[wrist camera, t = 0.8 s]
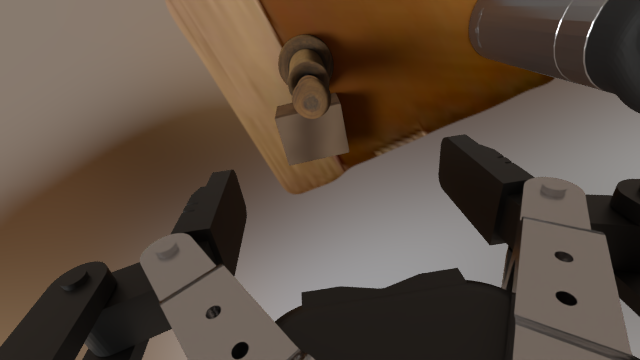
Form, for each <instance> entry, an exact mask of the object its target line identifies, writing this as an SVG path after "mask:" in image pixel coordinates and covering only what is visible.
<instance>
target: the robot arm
mask: <svg viewBox="0 0 640 360" xmlns="http://www.w3.org/2000/svg"><path fill="white" fill-rule="evenodd" d="M469 37H470V41H471V44H472V46H473V47H474V49H475V51H476V52H477V53H479V54H480V55H481V56H483V57H485V58H488V59H491V60H495V61H498V62H502V63H505V64H508V65H512V66H516V67H519V68H523V69H526V70H530V71H533V72H537V73H541V74H544V75H548V76H551V77H555V78H559V79H563V80H566V81H569V82H573V83H576V84H581V85H585V86H588V87H592V88H595V89H599V90H602V91H606V92H610V93H613V94H616V95H617V96H618V97H619V98H620V100H621V101H622V102H623V103H624V104H625V105H627V106H628V107H630V108H631V109H633V110H634V111H636V112H638V113H640V0H478V1H477V3H476V5H475V7H474V9H473V12H472V15H471V18H470V24H469ZM439 182H440V185H441V187H442V189H443V190H444V192H445V193H446V194H447V195H448V196H449V197H450V199H451V200H452V201H453V202H454V203H455V204H456V206H457V207H458V208H459V209H460V210H461V212H462V213H463V214H464V215H465V216H466V217H467V219H468V220H469V221H470V222H471V223H472V225H473V226H474V227H475V228H476V229H477V230H478V232H479V233H480V234H481V235H482V236H483V238H484V239H485V240H486V241H487V242H488V243H489V245H496V244H502V243H507V244H508V250H507V253H506V259H505V267H504V273H503V280H502V287H501V288H500V287H497V286H494V285H491V284H487V283H482V282H477V281H470V280H465V279H464V277H463V275H462V274H461V272H460V271H459V269H458V268H454V269H448V270H441V271H436V272H429V273H422V274H418V275H416V276H413V277H411V278H408V279H406V280H403V281H401V282H399V283H396V284H394V285H391V286H389V287H386V288H382V289H374V288H357V287H334V288H328V289H321V290H315V291H309V292H302V306H299V307H297V308H295V309H293V310H291V311H289V312H287V313H286V314H284V315H283V316H281V317H280V318H279V319H277V321H275V322H274V321H273V320H272V319H271V317H270V316H269V315H268V314H267V313H266V312H265V311H264V310H263V309H262V307H261V306H260V305H259V304H258V303H257V302H256V301H255V300H254V299H253V297H252V296H251V295H250V294H249V293H248V292H247V291H246V290H245V289H244V287H243V286H242V285H241V284H240V283H239V282H238V281H237V280H236V278H235V277H234V276H235V271H236V266H237V261H238V257H239V252H240V247H241V243H242V238H243V233H244V228H245V224H246V218H247V213H246V205H245V202H244V198H243V195H242V192H241V189H240V185H239V182H238V179H237V176H236V173H235V171H234V170H227V171H221V172H213V173H212V175H211V177H210V179H209V181H208V183H207V185H206V186H205V187H200V188H199V189H198V190H197V191H196V192H195V193H194V194H193V195H191V198H190V199H189V201H188V203H187V206H185V208H184V210H183V213H182V214H181V216H180V218H179V220H178V222H177V223H176V225H175V227H174V229H173V231H172V233H171V235H168V236H165V237H163V238H160V239H159V240H157V241H155V242H153V243H152V244H151V245H150V246H148V247H147V248H146V249H145V250H144V252H143V253H142V255H141V257H140V262H139V263H136V264H134V265H131V266H128V267H126V268H123V269H120V270H117V271H115V272H112V273H111V271H110V270H109V268H108V267H107V266H106V264H105V263H103V262H90V263H85V264H82V265H80V266H77V267H75V268H73V269H71V270H69V271H68V272H66V273H64V274H63V275H61V276H60V277H59V278H58V279H56V280H55V281H54V282H53V283H52V284H51V285H50V286H49V287H48V288H47V290H46V291H45V292H44V293H43V295H42V296H41V297H40V298H39V300H38V301H37V302H36V303H35V305H34V306H33V307H32V308H31V310H30V311H29V312H28V313H27V315H26V316H25V317H24V318H23V320H22V321H21V322H20V323H19V325H18V326H17V327H16V328H15V329H14V331H13V332H12V333H11V334H10V336H9V337H8V338H7V340H6V341H5V342H4V343H3V344H2V346H1V347H0V360H75V358H76V356H77V355H78V353H79V351H80V349H81V348H82V346H83V344H84V343H85V344H86V346H87V347H88V350H87V352H86V354H85V356H84V358H83V360H142V357H143V355H144V352H145V349H146V346H147V344H148V341H149V339H150V338H152V337H154V336H156V335H159V334H161V333H163V332H165V331H168V330H170V329H173V331H174V333H175V335H176V337H177V339H178V341H179V343H180V345H181V347H182V349H183V351H184V353H185V355H186V357H187V358H188V360H640V359H639V358H637V357H635V356H633V355H632V353H631V350H630V345H629V341H628V336H627V332H626V327H625V322H624V318H623V313H622V309H621V304H620V300H619V298H620V299H621V300H622V301H623V302H625V303H626V304H627V305H628V306H629V307H630V308H631V309H632V310H633V311H634V312H635V313H636V314H637V315H638V316H640V179H628V180H623V181H621V182H619V183H618V184H617V186H616V189H615V191H614V193H613V196H610V195H585V193H584V191H583V190H582V189H581V188H580V187H578V186H577V185H575V184H573V183H571V182H568V181H565V180H561V179H557V178H549V177H537V178H535V177H533V176H532V175H530V174H529V173H527V172H526V171H525V170H523V169H522V168H520V167H519V166H517V165H516V164H514V163H511V161H510V160H509V159H507V158H506V157H503V155H501V154H500V153H498V152H497V151H496V150H494V149H491V148H488V147H485V146H483V145H479V144H478V143H476V142H475V141H474V140H472V139H471V138H470V137H468V136H467V135H458V136H451V137H445V138H443V140H442V143H441V151H440V164H439Z"/></svg>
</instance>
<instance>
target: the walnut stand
mask: <svg viewBox="0 0 640 360" xmlns="http://www.w3.org/2000/svg"><path fill="white" fill-rule="evenodd" d="M275 121H276V124H277V127H278V130H279V134H280V137H281V140H282V144H283V147H284V150H285V153H286V157H287V160H288V163H289V166H290V165H295V164H299V163H303V162H308V161H312V160H317V159H321V158H326V157H330V156H334V155H339V154H343V153H348V152H349V147H348V142H347V137H346V131H345V126H344V120H343V115H342V109H341V104H340V101H339V99H338V97H337V95H336V93H333V94H331V104H330V107H329V109H328V111H327V112H326V113H325V114H324V115H323V116H321V117H319V118H315V119H309V118H305V117H303V116H301V115H300V114H299V113H298V112H297V111H296V109H295V108H294V105H293V103H290V104H286V105H282V106H278V107H277V111H276V116H275Z"/></svg>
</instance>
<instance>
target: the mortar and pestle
mask: <svg viewBox="0 0 640 360" xmlns="http://www.w3.org/2000/svg"><path fill="white" fill-rule="evenodd" d="M278 66H279V72H280V75H281V77H282V79H283V81H284V82H285V83H286V84H287V85H288V87H289V91H290V93H291V95H292V102H293V105H294V108H295V109H296V111H297V112H298V113H299V114H300V115H301V116H303V117H305V118H309V119H315V118H319V117H321V116H323V115H324V114H325V113H326V112H327V111H328V109H329V107H330V104H331V94H330V91H329V80H330V78H331V76H332V73H333V58H332V55H331V52H330V50H329V49H328V47H327V46H326V44H325V43H324V42H323V41H322V40H320V39H319V38H317V37H315V36H312V35H299V36H296V37H293V38H292V39H290V40H289V41H288V42H287V43H286V44H285V45H284V46H283V48H282V50H281V52H280V55H279V62H278Z"/></svg>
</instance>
